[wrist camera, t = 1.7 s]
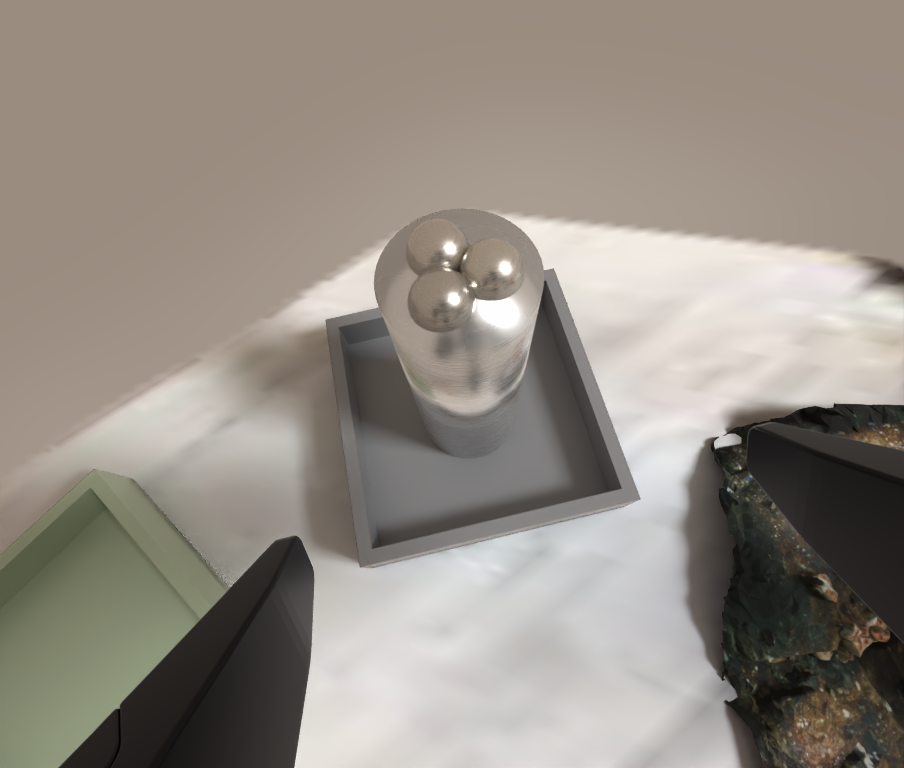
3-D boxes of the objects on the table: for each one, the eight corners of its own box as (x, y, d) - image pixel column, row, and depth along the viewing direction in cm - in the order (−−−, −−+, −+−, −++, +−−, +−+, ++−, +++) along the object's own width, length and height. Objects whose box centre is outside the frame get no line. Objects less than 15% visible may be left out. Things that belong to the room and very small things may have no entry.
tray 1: (288, 655, 21) (262, 666, 18) (51, 935, 17) (-17, 993, 15) (132, 479, 24) (94, 468, 22) (-88, 687, 21) (-162, 702, 18)
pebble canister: (519, 454, 23) (562, 326, 11) (426, 462, 23) (366, 343, 11) (508, 369, 24) (535, 177, 12) (422, 376, 25) (366, 193, 13)
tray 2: (623, 507, 22) (640, 499, 20) (373, 567, 22) (359, 567, 19) (547, 295, 27) (553, 268, 24) (339, 342, 26) (325, 319, 24)
